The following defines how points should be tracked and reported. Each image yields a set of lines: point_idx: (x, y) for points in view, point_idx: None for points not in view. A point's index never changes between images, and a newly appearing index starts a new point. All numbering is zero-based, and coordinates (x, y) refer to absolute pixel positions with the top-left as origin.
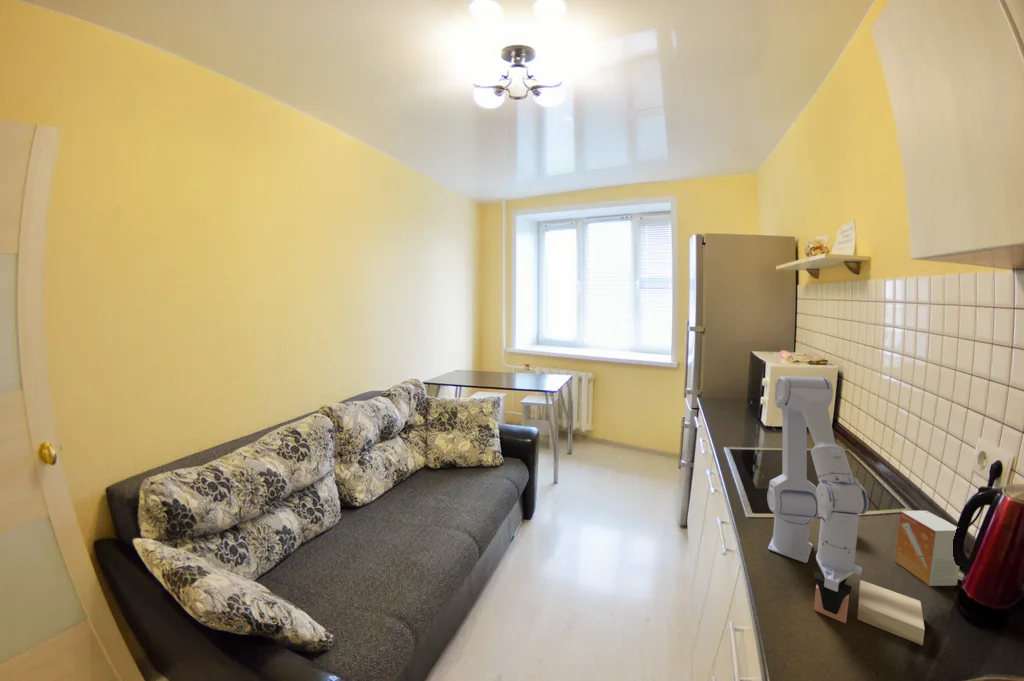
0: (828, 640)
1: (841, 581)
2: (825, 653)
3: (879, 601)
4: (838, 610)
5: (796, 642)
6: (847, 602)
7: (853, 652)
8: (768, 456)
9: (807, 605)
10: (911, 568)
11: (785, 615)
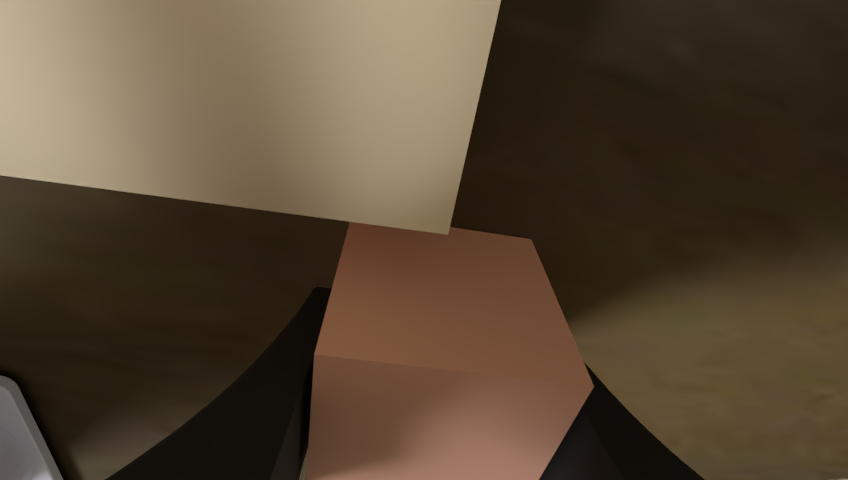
0: (716, 323)
1: (299, 414)
2: (816, 339)
3: (244, 31)
4: None
5: (761, 418)
6: (581, 365)
7: (789, 232)
8: None
9: None
10: None
11: None
